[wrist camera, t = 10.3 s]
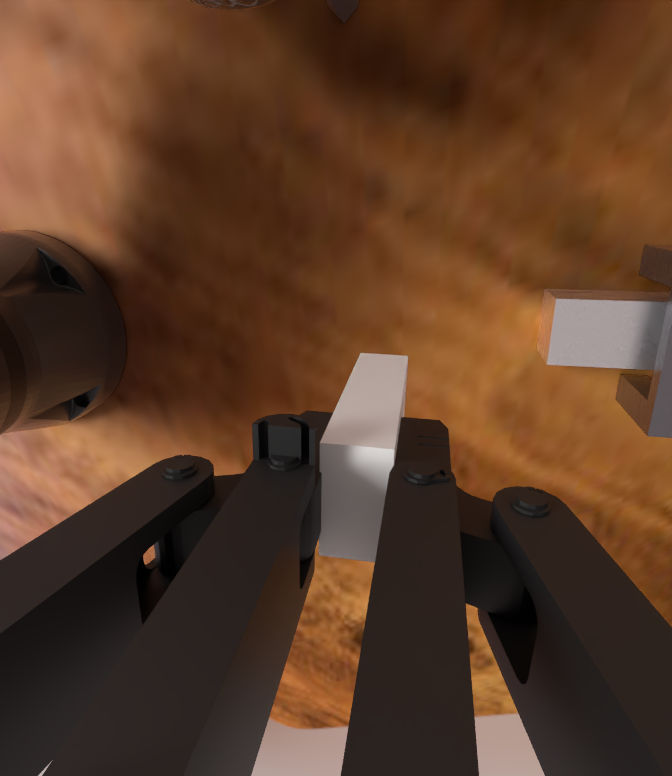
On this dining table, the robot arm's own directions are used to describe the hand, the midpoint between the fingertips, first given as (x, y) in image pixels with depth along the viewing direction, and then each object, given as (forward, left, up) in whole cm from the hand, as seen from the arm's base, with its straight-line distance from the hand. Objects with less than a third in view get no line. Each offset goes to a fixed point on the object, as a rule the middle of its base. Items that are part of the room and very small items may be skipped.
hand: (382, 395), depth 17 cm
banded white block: (+16, -2, -21) cm, 27 cm away
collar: (+15, -2, -21) cm, 25 cm away
